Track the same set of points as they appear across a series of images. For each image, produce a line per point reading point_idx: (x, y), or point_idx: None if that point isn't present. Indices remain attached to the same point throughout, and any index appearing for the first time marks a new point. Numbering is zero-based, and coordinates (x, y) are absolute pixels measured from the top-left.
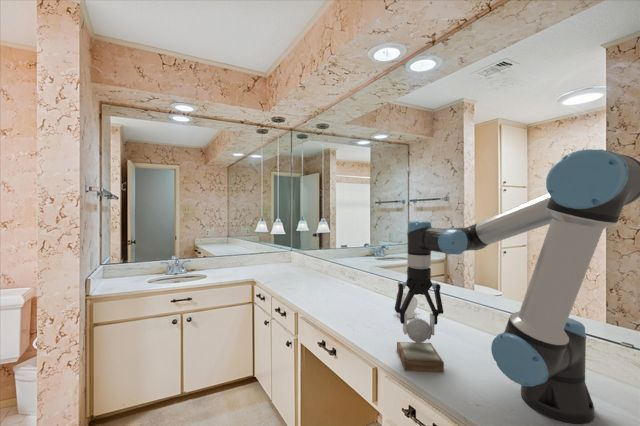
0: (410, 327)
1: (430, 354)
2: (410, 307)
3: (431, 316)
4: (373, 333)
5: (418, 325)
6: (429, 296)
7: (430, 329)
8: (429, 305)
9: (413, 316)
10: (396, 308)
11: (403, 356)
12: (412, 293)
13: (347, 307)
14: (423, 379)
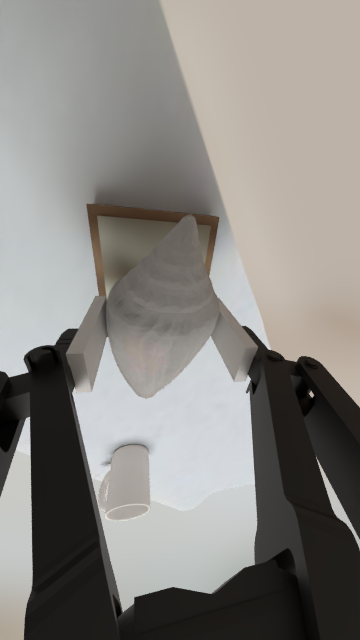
0: (213, 299)
1: (123, 259)
2: (120, 474)
3: (88, 359)
4: (218, 385)
5: (183, 291)
6: (45, 579)
7: (111, 299)
8: (82, 439)
9: (115, 453)
10: (330, 375)
11: (212, 250)
12: (346, 586)
13: (229, 458)
14: (172, 154)
